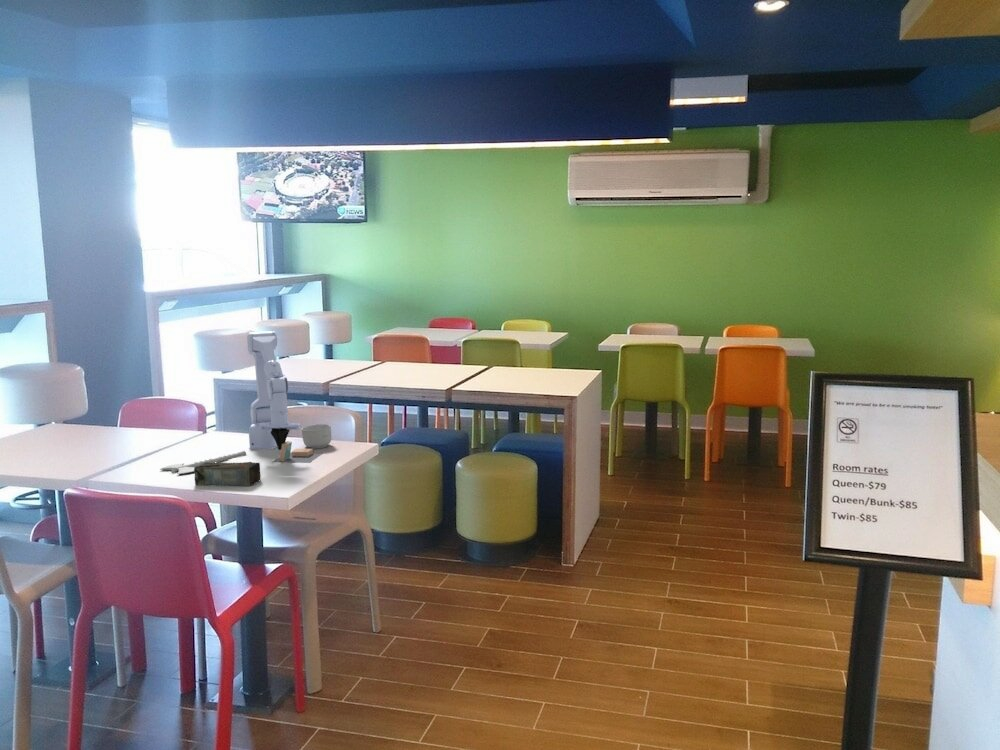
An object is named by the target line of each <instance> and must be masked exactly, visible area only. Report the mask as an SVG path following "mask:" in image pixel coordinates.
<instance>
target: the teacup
mask: <svg viewBox="0 0 1000 750" xmlns="http://www.w3.org/2000/svg"><path fill="white" fill-rule="evenodd" d="M300 430H301V436H302V441H303V444H304V446H305V447H307V448H308V449H324V448H326V447H328V446H329V444H330V443H331V442H332V426H331V424H328V423H321V424H320V423H315V424H310V425H305V426H303V427H301V429H300Z"/></svg>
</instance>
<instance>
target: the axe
mask: <svg viewBox="0 0 1000 750" xmlns="http://www.w3.org/2000/svg"><path fill="white" fill-rule="evenodd" d="M244 456H247V452H246V450H241V451H239V452H236V453H232V454H227V455H223V456H218V457H215V458H209V459H205V460H199V461H195V462H193V463H189V464H185V463H177V464H176V463H175V464H171V465H166V466H163V467H161V468H160V469H159V470H160V471H171V473H173V472H175V473H176V474H177V475H181V474H188V473H194V468H195V467H197V466H198V465H199V464H203V463H206V462H208V463H210V462H211V463H215V462H217V463H221V462H224V461H223V460H226V461H228V460H227V459H230V460H232V459H233V458H239V457H244ZM220 461H221V462H220ZM177 471H178V472H177Z"/></svg>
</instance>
